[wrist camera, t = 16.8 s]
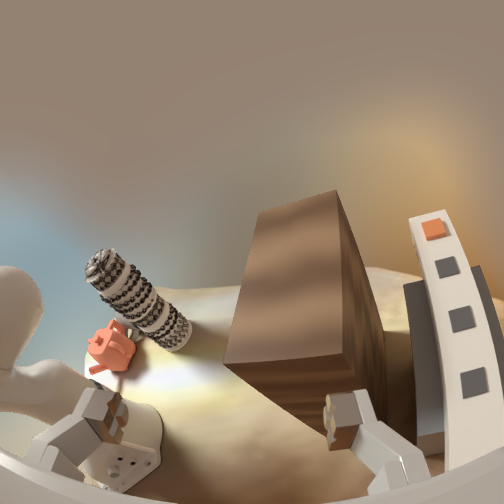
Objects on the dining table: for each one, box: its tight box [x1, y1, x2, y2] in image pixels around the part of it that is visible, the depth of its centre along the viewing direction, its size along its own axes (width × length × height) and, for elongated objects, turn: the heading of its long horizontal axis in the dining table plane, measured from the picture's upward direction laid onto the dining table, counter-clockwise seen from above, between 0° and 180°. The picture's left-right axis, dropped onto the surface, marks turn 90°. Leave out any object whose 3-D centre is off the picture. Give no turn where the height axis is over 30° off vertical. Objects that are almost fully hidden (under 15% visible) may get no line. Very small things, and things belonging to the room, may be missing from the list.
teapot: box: [88, 320, 136, 375], centre depth 63 cm, size 12×12×10 cm
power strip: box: [409, 209, 504, 473], centre depth 17 cm, size 26×4×3 cm, turn 169°
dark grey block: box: [403, 265, 504, 456], centre depth 24 cm, size 14×8×18 cm, turn 169°
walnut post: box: [222, 190, 387, 437], centre depth 31 cm, size 16×8×26 cm, turn 169°
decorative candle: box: [85, 249, 192, 352], centre depth 56 cm, size 9×9×25 cm
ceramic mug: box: [115, 308, 142, 343], centre depth 70 cm, size 11×8×8 cm
